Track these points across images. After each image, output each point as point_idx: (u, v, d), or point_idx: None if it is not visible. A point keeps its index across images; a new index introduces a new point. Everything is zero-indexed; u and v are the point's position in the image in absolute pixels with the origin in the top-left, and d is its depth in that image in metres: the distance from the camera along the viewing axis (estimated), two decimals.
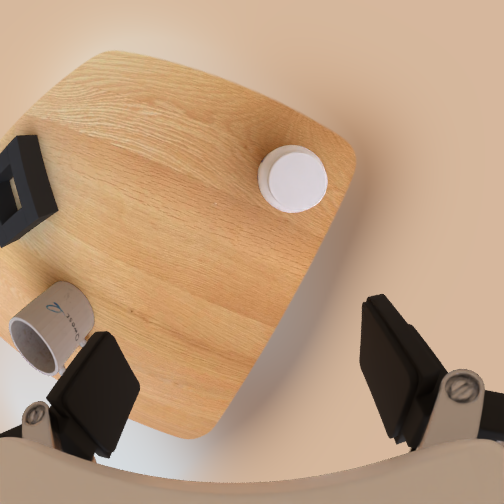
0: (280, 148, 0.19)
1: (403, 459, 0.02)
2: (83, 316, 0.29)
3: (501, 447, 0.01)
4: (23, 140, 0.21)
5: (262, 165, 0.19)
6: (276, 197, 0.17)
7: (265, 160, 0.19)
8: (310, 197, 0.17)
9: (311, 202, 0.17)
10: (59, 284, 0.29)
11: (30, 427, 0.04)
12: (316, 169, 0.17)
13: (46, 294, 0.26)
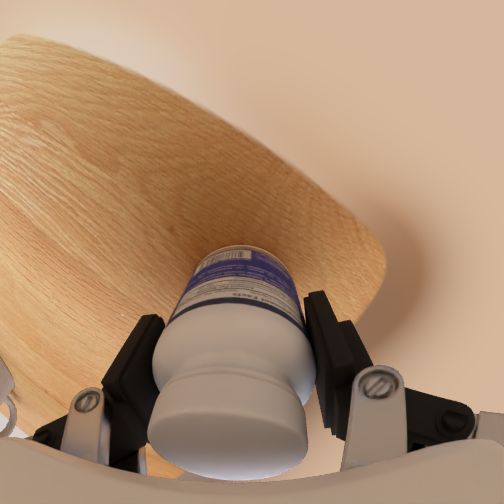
0: (203, 322, 0.07)
1: (403, 459, 0.02)
2: None
3: (501, 447, 0.01)
4: None
5: (157, 349, 0.07)
6: (169, 461, 0.05)
7: (164, 341, 0.07)
8: (253, 472, 0.05)
9: (254, 476, 0.06)
10: None
11: (84, 415, 0.05)
12: (281, 444, 0.05)
13: None
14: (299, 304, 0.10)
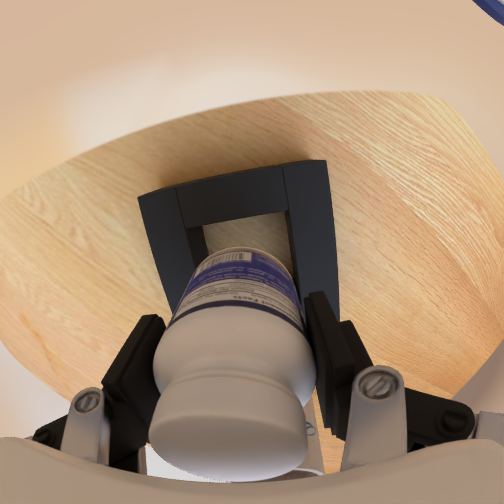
0: (204, 325, 0.07)
1: (403, 459, 0.02)
2: None
3: (501, 447, 0.01)
4: None
5: (158, 352, 0.07)
6: (170, 463, 0.05)
7: (165, 344, 0.07)
8: (253, 474, 0.05)
9: (254, 477, 0.06)
10: None
11: (84, 415, 0.05)
12: (281, 446, 0.05)
13: None
14: (299, 306, 0.10)
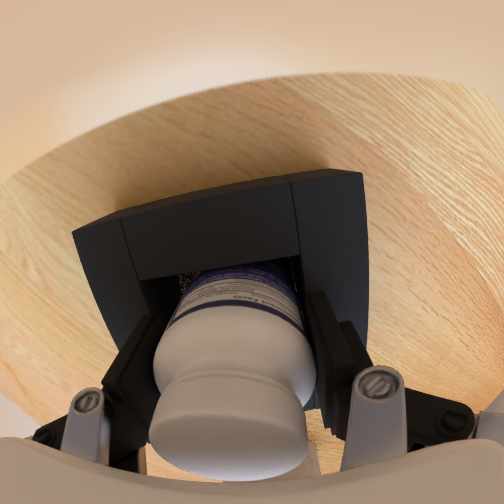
0: (204, 324, 0.07)
1: (403, 459, 0.02)
2: None
3: (501, 447, 0.01)
4: None
5: (158, 351, 0.07)
6: (170, 462, 0.05)
7: (165, 343, 0.07)
8: (253, 473, 0.05)
9: (254, 477, 0.06)
10: None
11: (84, 415, 0.05)
12: (281, 445, 0.05)
13: (284, 474, 0.15)
14: (299, 306, 0.10)
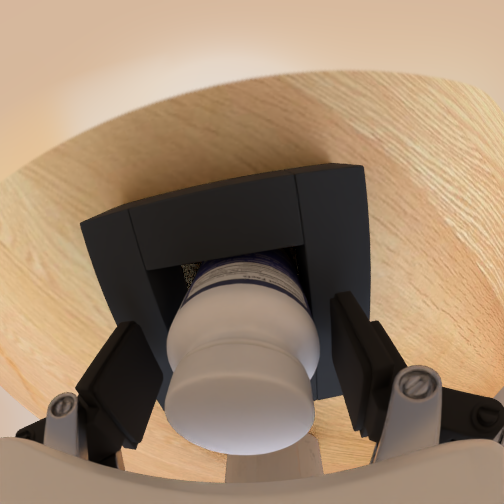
0: (218, 300, 0.08)
1: (403, 459, 0.02)
2: None
3: (501, 447, 0.01)
4: None
5: (173, 328, 0.08)
6: (183, 436, 0.06)
7: (179, 320, 0.08)
8: (263, 445, 0.06)
9: (263, 449, 0.06)
10: None
11: (58, 419, 0.05)
12: (290, 410, 0.06)
13: (287, 467, 0.15)
14: (302, 289, 0.11)
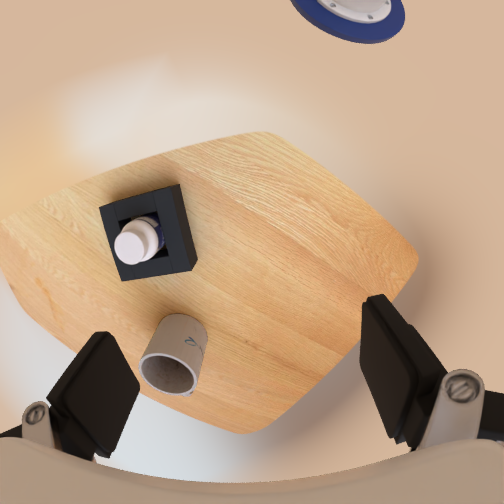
0: (130, 223, 0.30)
1: (403, 459, 0.02)
2: (205, 345, 0.41)
3: (501, 447, 0.01)
4: (174, 192, 0.32)
5: (121, 232, 0.31)
6: (117, 255, 0.29)
7: (122, 229, 0.30)
8: (134, 258, 0.29)
9: (135, 260, 0.29)
10: (182, 317, 0.40)
11: (30, 427, 0.04)
12: (137, 242, 0.28)
13: (176, 328, 0.38)
14: None
